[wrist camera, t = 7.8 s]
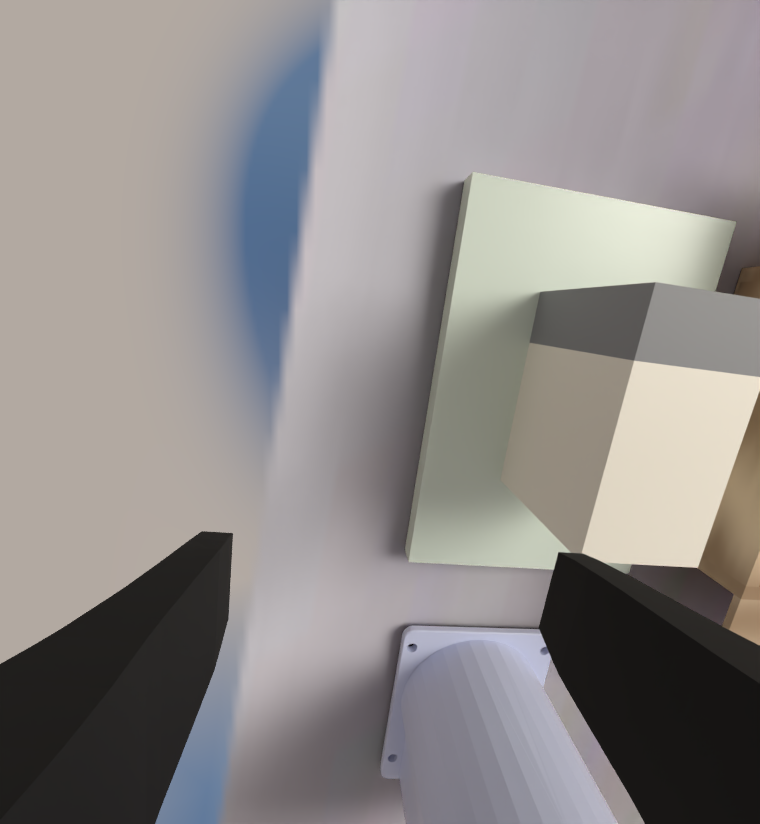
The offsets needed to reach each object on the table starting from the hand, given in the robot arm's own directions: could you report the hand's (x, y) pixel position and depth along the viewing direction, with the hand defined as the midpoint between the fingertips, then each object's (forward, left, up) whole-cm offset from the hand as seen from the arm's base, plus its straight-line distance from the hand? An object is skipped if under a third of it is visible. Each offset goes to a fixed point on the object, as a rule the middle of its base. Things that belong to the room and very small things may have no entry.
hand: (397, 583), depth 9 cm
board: (+3, -8, -9) cm, 13 cm away
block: (+3, -8, -8) cm, 12 cm away
